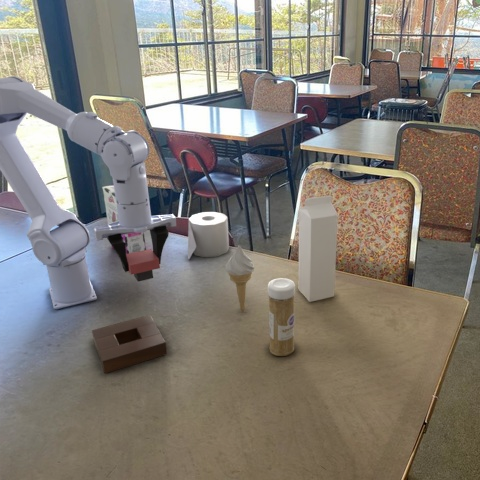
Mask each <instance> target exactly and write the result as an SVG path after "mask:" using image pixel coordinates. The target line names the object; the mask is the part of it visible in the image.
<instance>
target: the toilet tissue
mask: <svg viewBox="0 0 480 480" xmlns="http://www.w3.org/2000/svg"><path fill="white" fill-rule="evenodd" d="M228 217H229V216H227V215H226V214H224V213H223V212H216V211H202V212H198V213H195V214H192V215H191V216H190V217H189V218H188V226H187V227H188V229H187V230H188V231H187V259H188V261H189V260H190V259H191V257H192V255H194V256H198V257H202V258H213V257H214V258H215V257H219V256H222V255H224V254H227V252H228V251H229V249H230V238H229V237H230V236H229V220H228V219H229V218H228Z"/></svg>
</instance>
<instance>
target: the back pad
mask: <svg viewBox="0 0 480 480" xmlns="http://www.w3.org/2000/svg"><path fill="white" fill-rule="evenodd" d="M126 256H127V261H128V266H129V271H128V272H129V275H133V276H134V278H135V279H136V281H137V283H138V282H143V281H147V280H151V279H154V273H153V270H159V269H161V266H160V265H161V264H159V259H158V257H157V256H156V255H155V253H154V252H153V249H151V248H149V249H146V250H144V251H139V252H134V253H129V254H126Z"/></svg>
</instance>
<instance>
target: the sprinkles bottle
mask: <svg viewBox="0 0 480 480" xmlns="http://www.w3.org/2000/svg"><path fill="white" fill-rule="evenodd" d="M295 294H296V285H295V282H294V280H293V279H292V280H291V279H290V278H285V277H278V278H274V279H272V280H270V281H269V282H268V283H267V296H268V328H269V329H268V331H269V334H268V335H269V352H270V353H271V354H273V355H274V356H278V357H286V356H289V355H291V354H292V353H293V352H294V351H295V342H294V341H295Z"/></svg>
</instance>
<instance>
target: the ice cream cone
mask: <svg viewBox="0 0 480 480" xmlns="http://www.w3.org/2000/svg"><path fill="white" fill-rule="evenodd" d="M252 262H253V260H252V259H251V258H250V257H249V256H248V255H247V253H246V252H245V251H244V250H243V247H242V246H241V245H240V244H238V246H237V248H236V250H235V251H234V252H233V254H232V255H231V256H230V258H229V260H228V261H226V264H225V266H224V267H225V269H226V273H227V274H228V276H229V279H230V281H232V282H233V283H234V284H235V287H236V293H237V299H238V303H239V309H240V312H241V313H244V312H245V304H246V292H247V283H248V281H250V280H251V278H252V274H253V272H254V271H255V264H254V263H252Z"/></svg>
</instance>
